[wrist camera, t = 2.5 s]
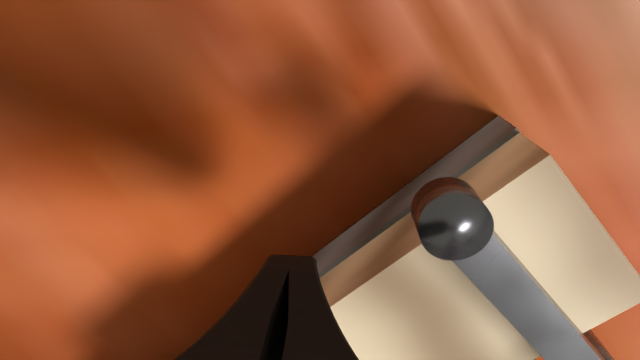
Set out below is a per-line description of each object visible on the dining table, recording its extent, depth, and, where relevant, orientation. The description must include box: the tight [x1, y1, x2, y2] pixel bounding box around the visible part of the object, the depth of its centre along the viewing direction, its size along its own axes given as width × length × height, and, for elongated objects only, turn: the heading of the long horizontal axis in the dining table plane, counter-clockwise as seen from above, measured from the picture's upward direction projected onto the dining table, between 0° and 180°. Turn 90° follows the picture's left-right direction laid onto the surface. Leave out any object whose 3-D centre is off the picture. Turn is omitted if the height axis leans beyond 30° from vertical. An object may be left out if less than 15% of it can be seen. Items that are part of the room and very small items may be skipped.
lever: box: [411, 177, 614, 360], centre depth 13 cm, size 10×2×5 cm, turn 43°
